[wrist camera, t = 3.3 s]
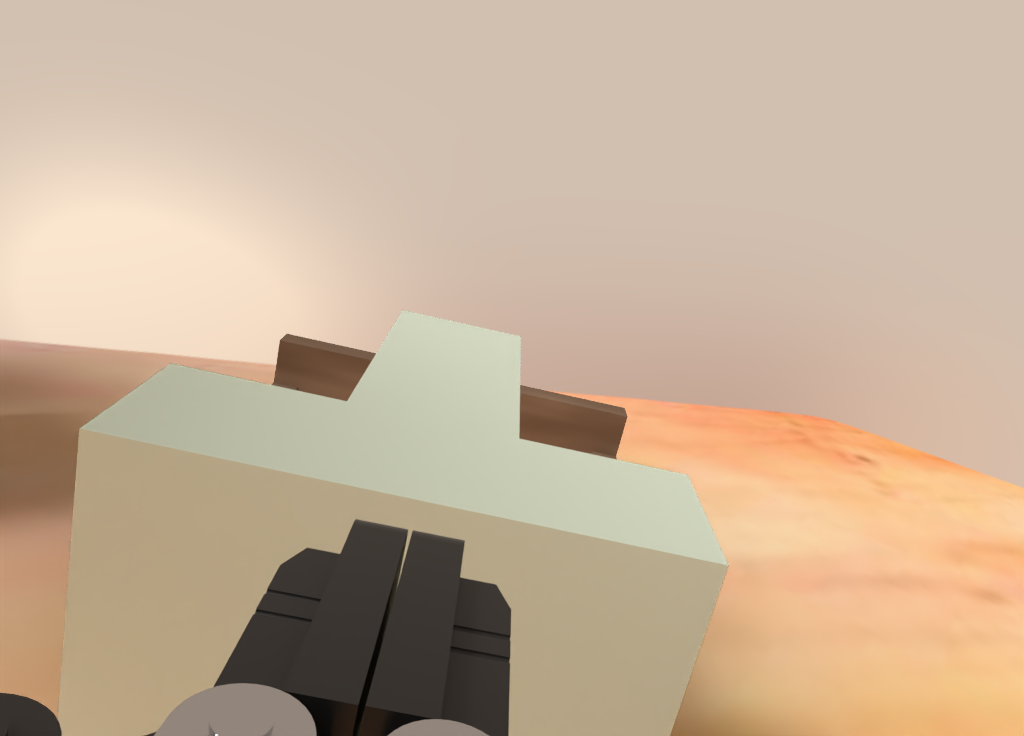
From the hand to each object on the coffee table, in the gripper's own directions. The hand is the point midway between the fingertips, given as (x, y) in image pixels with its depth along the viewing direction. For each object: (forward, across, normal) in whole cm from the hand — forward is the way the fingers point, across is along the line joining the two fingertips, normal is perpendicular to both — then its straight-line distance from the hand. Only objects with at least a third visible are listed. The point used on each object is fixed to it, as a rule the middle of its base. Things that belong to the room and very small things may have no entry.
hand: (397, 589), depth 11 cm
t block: (+10, 0, +10) cm, 15 cm away
